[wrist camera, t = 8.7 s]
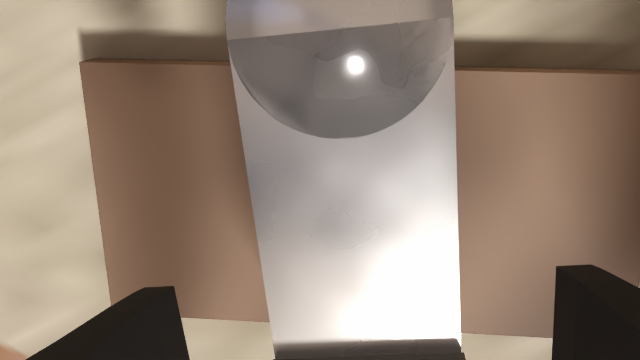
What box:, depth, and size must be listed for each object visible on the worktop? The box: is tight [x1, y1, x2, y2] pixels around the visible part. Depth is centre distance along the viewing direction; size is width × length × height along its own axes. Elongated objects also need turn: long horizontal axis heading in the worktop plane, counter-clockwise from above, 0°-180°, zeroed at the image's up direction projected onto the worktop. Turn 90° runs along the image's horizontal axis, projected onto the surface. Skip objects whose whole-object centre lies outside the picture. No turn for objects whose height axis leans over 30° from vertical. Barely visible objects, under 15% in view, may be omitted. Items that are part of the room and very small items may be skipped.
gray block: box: [226, 0, 466, 360], centre depth 13 cm, size 4×13×6 cm, turn 6°
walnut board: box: [79, 59, 640, 338], centre depth 16 cm, size 16×8×1 cm, turn 89°
